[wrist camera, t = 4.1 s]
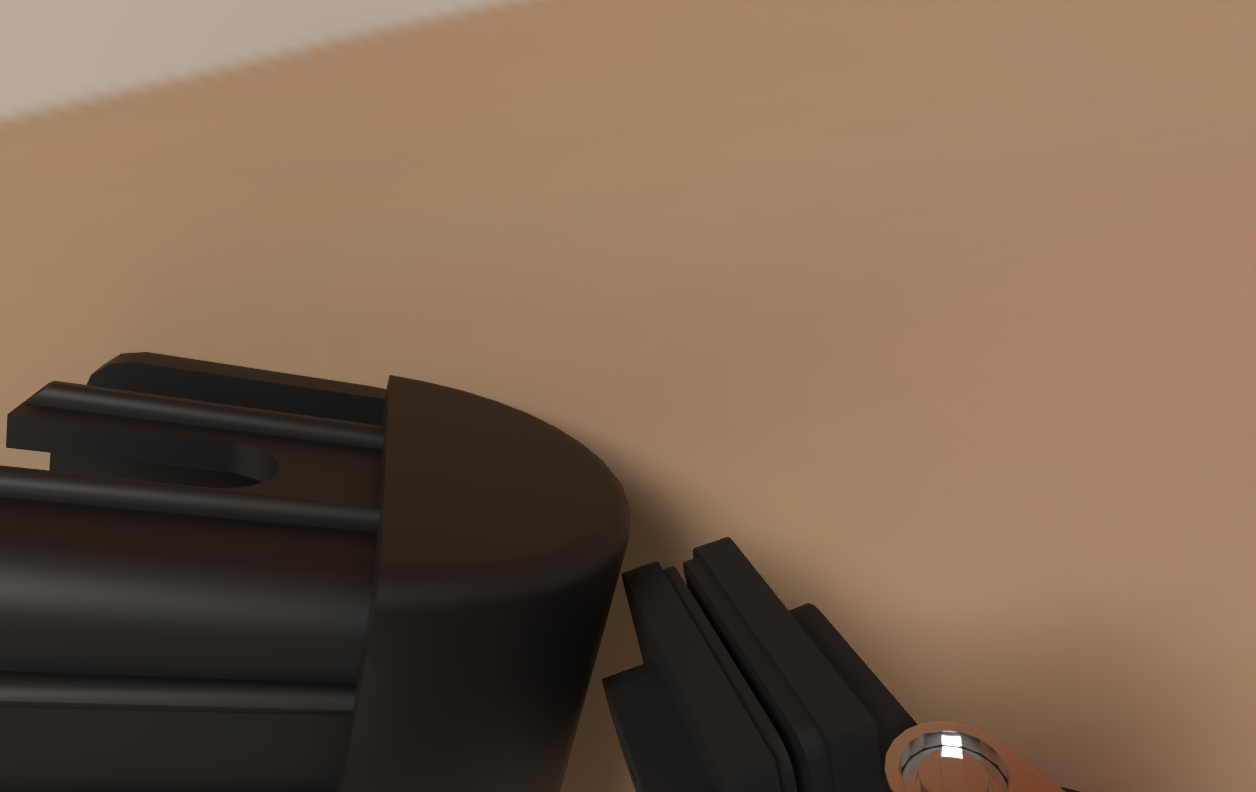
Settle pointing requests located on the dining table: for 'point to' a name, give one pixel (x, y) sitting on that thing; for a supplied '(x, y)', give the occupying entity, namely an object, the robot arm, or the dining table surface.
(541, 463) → the end cap
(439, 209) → the dining table surface
